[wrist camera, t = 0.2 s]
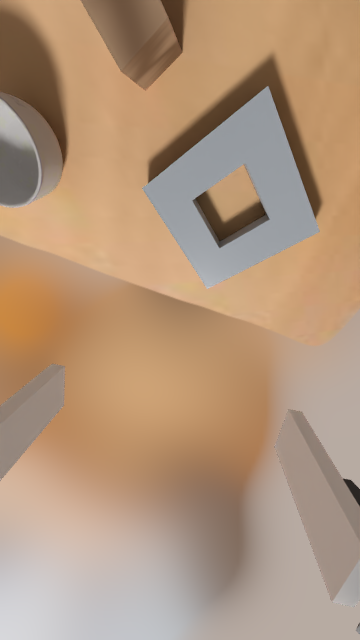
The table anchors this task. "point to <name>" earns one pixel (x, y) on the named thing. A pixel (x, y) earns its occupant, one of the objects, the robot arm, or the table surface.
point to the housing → (267, 178)
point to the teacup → (26, 154)
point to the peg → (136, 36)
